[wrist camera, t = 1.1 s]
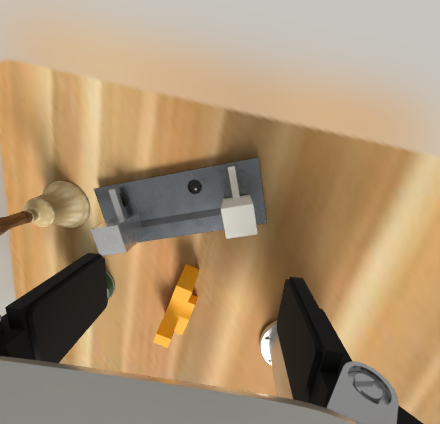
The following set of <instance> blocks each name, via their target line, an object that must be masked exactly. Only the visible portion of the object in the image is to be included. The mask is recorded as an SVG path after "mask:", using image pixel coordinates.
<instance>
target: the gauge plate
mask: <svg viewBox="0 0 440 424" xmlns="http://www.w3.org/2000/svg"><path fill="white" fill-rule="evenodd" d="M232 166H235V171H236V177H237V183H238V189H239V195H240V196H243V195H249V194H250V197H251V199H252V202H253V206H254V213H255V220H256V224H263V223H267V219H266V212H265V204H264V197H263V189H262V182H261V175H260V167H259V160H258V158H252V159H247V160H242V161H236V162H231V163H226V164H221V165H215V166H210V167H205V168H199V169H194V170H189V171H184V172H178V173H173V174H168V175H162V176H157V177H152V178H147V179H141V180H136V181H131V182H125V183H120V184H115V185H110V186H104V187H99V188H95V189H94V191H95V194H96V196H97V199H98V202H99V205H100V208H101V211H102V214H103V217H104V219H105V222H104V223H102V224H100V225H98V226H96V227H94V228H92V229H91V233H92V235H93V238H94V241H95V243H96V246H97V249H98V251H99V254H101V255H102V256H104V255H111V254H118V253H124V252H127V251H128V250H130V249H131V248H132V247H133V246H134V245H135V244H136V243H137V242H144V241H150V240H157V239H164V238H170V237H177V236H184V235H190V234H197V233H203V232H210V231H217V230H223V229H224V224H223V219H222V214H221V206H222V202H223V199H226V198H231V197H233V196H232V190H231V184H230V178H229V173H228V167H232Z"/></svg>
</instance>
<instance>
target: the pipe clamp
mask: <svg viewBox="0 0 440 424" xmlns="http://www.w3.org/2000/svg"><path fill="white" fill-rule="evenodd" d="M198 272H199V269H197V268H195V267H192V266H190V265H187V264H186V265H185V268H184V270H183V272H182V274H181V276H180V279H179V281H178V283H177V285H176V288H175V290H174V293H173V295H172V298H171V301H170V303H169V306H168V308H167V310H166V313H165V315H164V317H163V320H162V322H161V324H160V327H159V329H158V331H157V333H156V336H155V338H154V341H153V342H154V343H157V344H159V345H162V346H165V347H168V345H169V343H170V341H171V338H172V336H173V333H174V332H176V333H178V334H181V335H182V334H183V332H184V330H185V328H186V325H187V323H188V321H189V319H190V316H191V314H192V311H193V309H194V307H195V304H196V301H197V296H195V295H192V292H193V288H194V285H195V282H196V279H197V276H198Z"/></svg>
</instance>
